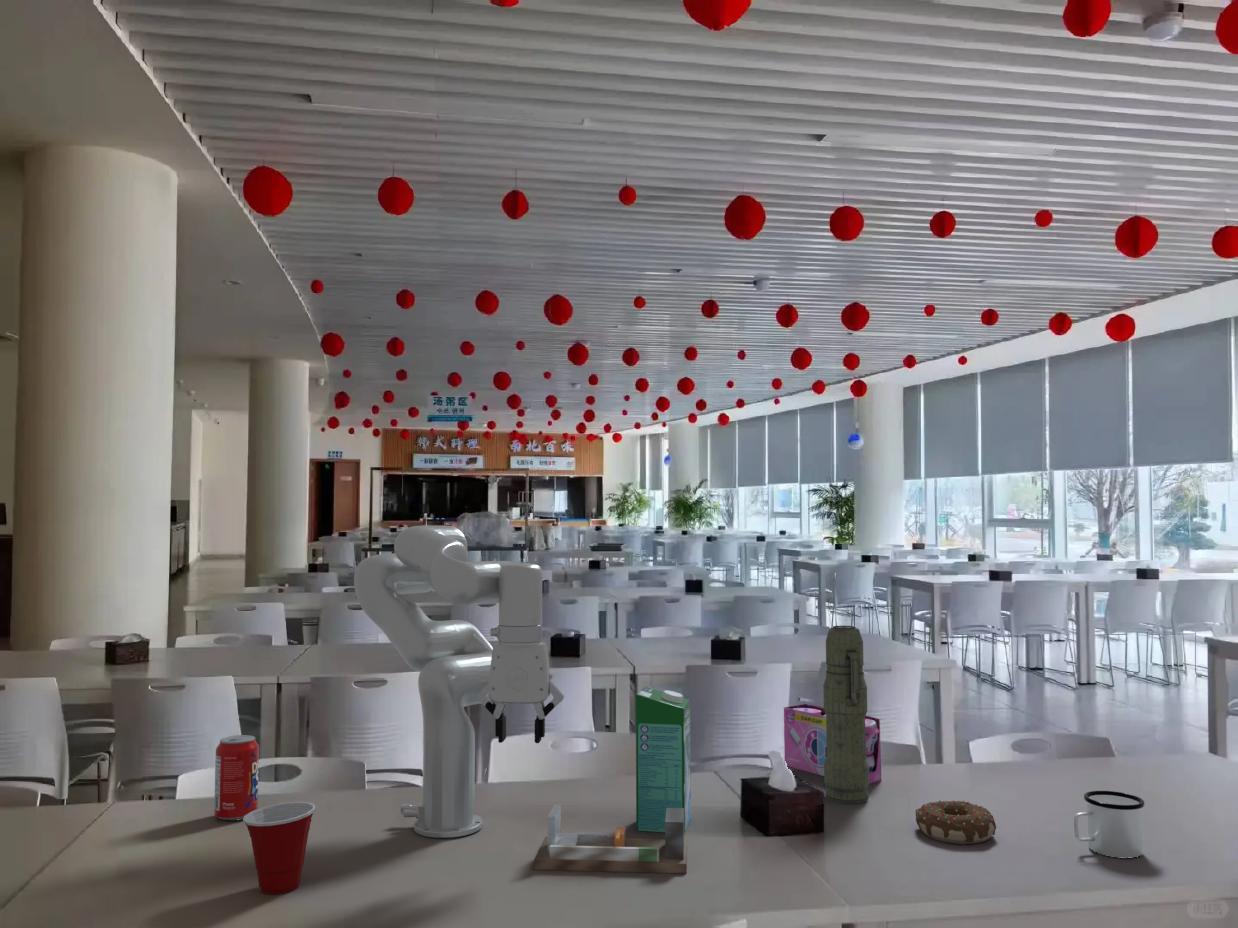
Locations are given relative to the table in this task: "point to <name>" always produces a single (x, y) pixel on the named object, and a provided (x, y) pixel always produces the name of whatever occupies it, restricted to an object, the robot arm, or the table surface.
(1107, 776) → the table surface
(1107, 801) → the mug
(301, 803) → the plastic cup
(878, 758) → the gum box
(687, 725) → the milk carton
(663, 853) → the base
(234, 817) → the soda can
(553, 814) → the plunger
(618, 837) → the pointer
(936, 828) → the donut
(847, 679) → the thermos
